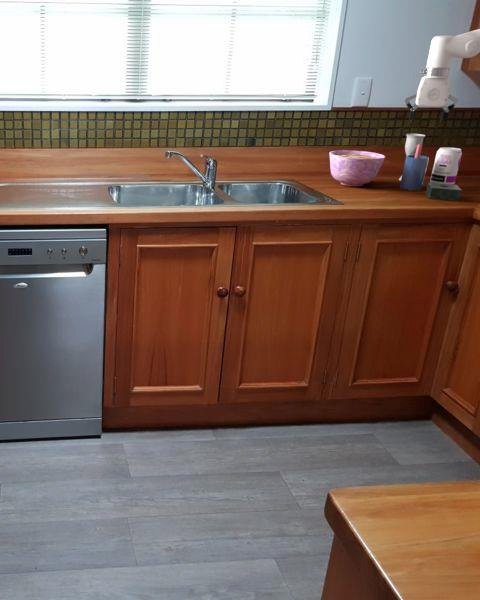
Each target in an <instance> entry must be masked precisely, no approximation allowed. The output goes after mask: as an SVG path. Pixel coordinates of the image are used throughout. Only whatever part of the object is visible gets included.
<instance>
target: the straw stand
mask: <svg viewBox="0 0 480 600" xmlns="http://www.w3.org/2000/svg"><path fill="white" fill-rule="evenodd" d="M462 191H463V189H461V188H460V187H459V185H458V184H454V185H451V184H438V183H430V182H427V185H426V189H425V194H426V196H427V198H428V199H429V200H438V201H450V202H460V200H461V199H460V198H461V195H462Z"/></svg>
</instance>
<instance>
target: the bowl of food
mask: <svg viewBox="0 0 480 600" xmlns="http://www.w3.org/2000/svg"><path fill="white" fill-rule="evenodd" d="M385 159H386V156H385V155H384V154H381V153H377V152H371V151H364V150H351V149H350V150H349V149H347V150H346V149H342V150H332V151H330V152H329V167H330V168H329V169H330V174H331V176H332V178H333V179H334V180H336V181H337V182H339V183H340V185H343V186H348V187H363V186H364V185H366V184H369V183H371V182H373V181H374V180H375V179H376V177H377V175H378V174H379V172H380V169H381V167H382V165H383V163H384V161H385Z"/></svg>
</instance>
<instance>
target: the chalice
mask: <svg viewBox="0 0 480 600" xmlns="http://www.w3.org/2000/svg"><path fill="white" fill-rule="evenodd" d="M405 135H406V139H405V140H406V141H405V145H404V152H405V155H406V156H407V155H415V154H416V149H417V145H418V144H421V145H422V146H423V141H424V138H425V137H426V135H425V134H421V133H406V134H405ZM401 177H402V175H401V176H400V177H399V178H398V180H399V181H401Z"/></svg>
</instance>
